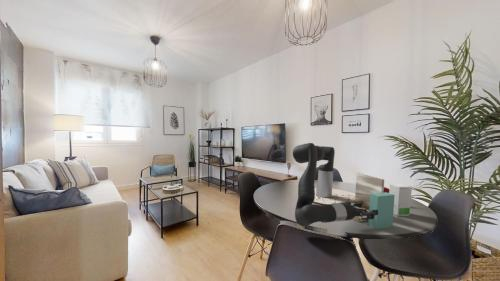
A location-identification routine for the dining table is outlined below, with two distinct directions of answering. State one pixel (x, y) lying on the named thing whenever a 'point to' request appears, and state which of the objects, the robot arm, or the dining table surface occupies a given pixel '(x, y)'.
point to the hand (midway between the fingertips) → (369, 208)
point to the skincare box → (401, 199)
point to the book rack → (366, 191)
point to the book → (382, 210)
